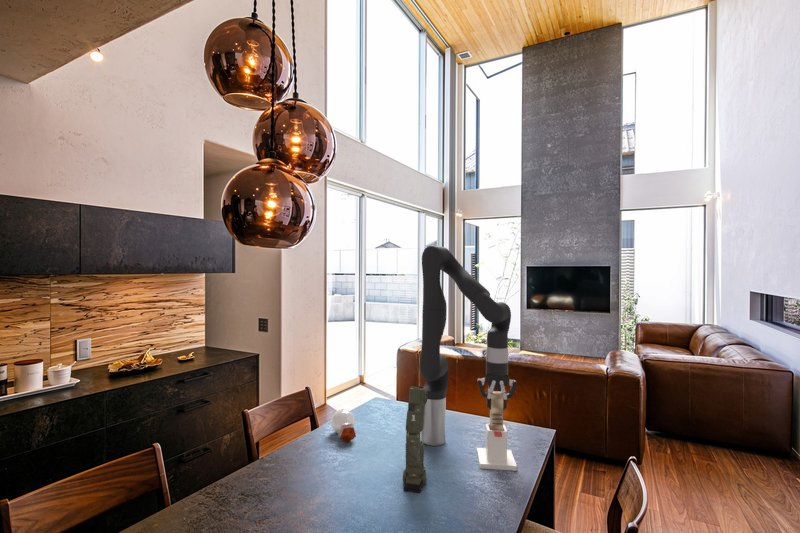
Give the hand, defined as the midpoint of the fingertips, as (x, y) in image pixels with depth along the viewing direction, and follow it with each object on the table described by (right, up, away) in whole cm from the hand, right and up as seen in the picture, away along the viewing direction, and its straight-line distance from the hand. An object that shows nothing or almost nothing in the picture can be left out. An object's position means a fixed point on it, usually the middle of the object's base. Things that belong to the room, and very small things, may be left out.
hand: (496, 408), depth 137 cm
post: (0, -16, 0) cm, 16 cm away
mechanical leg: (-29, -18, -14) cm, 37 cm away
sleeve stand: (0, -18, 0) cm, 18 cm away
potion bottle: (-55, -18, +19) cm, 61 cm away
